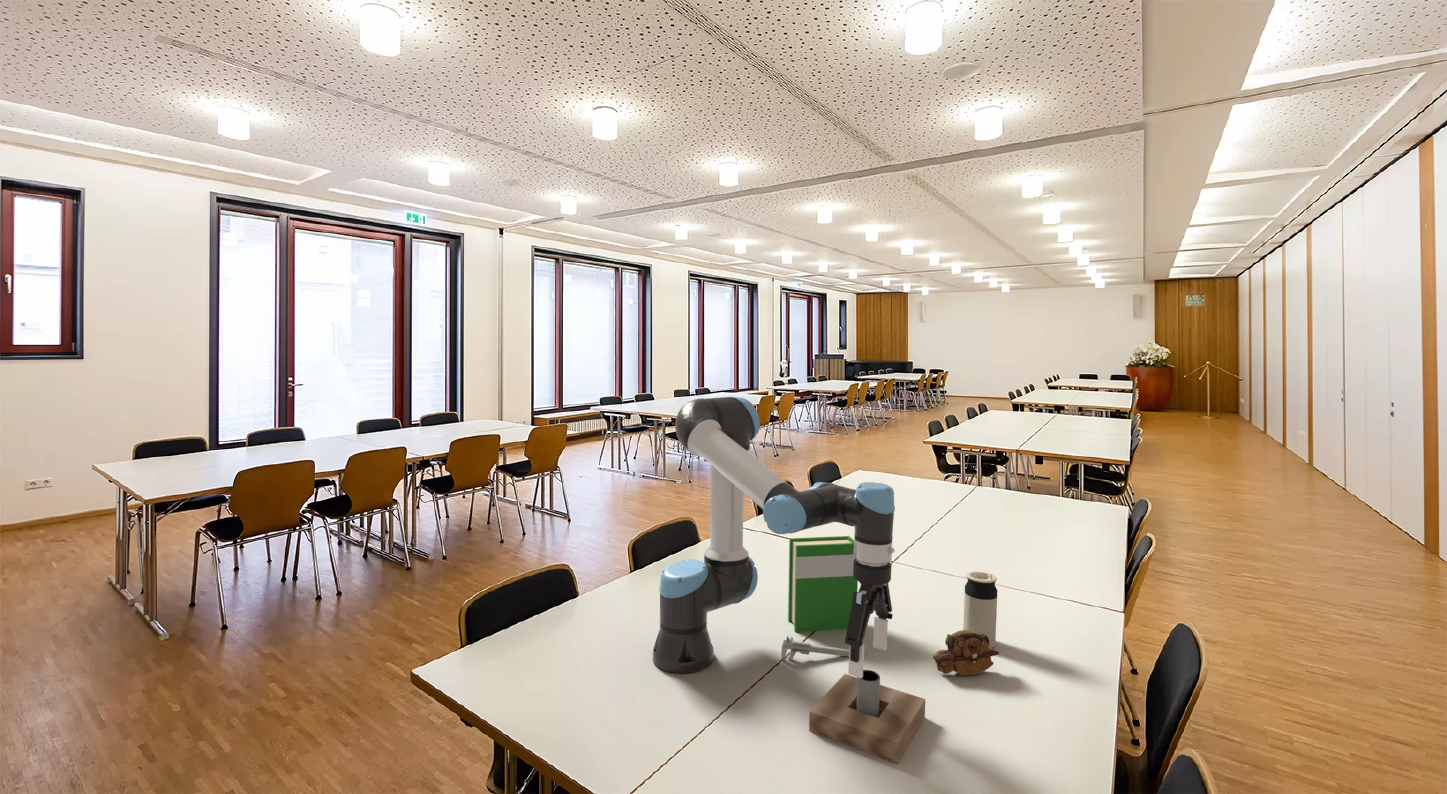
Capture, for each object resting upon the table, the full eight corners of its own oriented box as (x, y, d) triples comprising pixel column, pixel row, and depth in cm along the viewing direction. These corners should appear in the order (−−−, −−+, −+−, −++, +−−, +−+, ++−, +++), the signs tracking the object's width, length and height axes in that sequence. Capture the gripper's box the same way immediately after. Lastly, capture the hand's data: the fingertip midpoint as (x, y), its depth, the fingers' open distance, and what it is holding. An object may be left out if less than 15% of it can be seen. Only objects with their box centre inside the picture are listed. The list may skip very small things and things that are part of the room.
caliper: (782, 662, 153) (782, 637, 153) (781, 660, 154) (781, 635, 154) (861, 657, 156) (861, 633, 156) (859, 655, 157) (860, 631, 157)
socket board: (809, 730, 125) (809, 711, 125) (844, 690, 140) (844, 673, 140) (896, 763, 115) (897, 743, 115) (924, 717, 130) (925, 699, 130)
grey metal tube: (875, 716, 130) (876, 669, 129) (881, 729, 125) (882, 680, 125) (853, 717, 130) (855, 669, 129) (859, 730, 125) (860, 681, 124)
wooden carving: (942, 683, 144) (943, 641, 143) (930, 673, 148) (931, 632, 147) (1001, 674, 148) (1003, 633, 147) (989, 664, 152) (990, 625, 152)
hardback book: (795, 632, 169) (796, 546, 168) (788, 620, 177) (789, 538, 175) (856, 628, 172) (858, 543, 171) (846, 617, 179) (848, 535, 178)
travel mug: (961, 645, 163) (963, 578, 161) (964, 633, 170) (967, 569, 168) (994, 652, 159) (996, 583, 158) (996, 639, 166) (999, 574, 165)
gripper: (867, 583, 113) (863, 694, 114) (910, 548, 133) (905, 642, 135) (829, 574, 117) (825, 681, 118) (876, 541, 137) (872, 633, 139)
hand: (868, 661), depth 127 cm, fingers open, 13 cm apart
